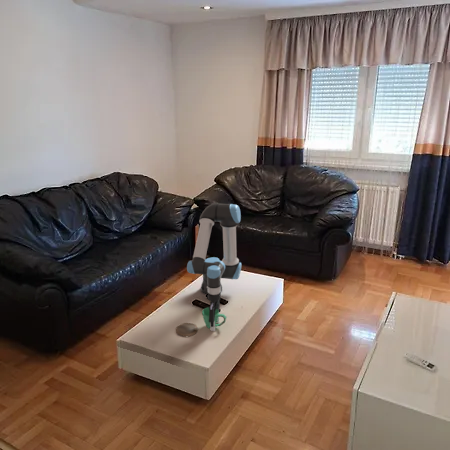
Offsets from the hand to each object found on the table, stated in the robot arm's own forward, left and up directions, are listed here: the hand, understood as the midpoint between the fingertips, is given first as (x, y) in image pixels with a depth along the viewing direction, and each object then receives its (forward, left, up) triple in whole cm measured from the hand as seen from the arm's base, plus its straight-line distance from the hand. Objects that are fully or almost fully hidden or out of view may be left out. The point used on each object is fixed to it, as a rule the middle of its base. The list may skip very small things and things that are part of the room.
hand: (214, 326), depth 235 cm
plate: (+7, -15, 0) cm, 17 cm away
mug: (0, 0, -1) cm, 1 cm away
